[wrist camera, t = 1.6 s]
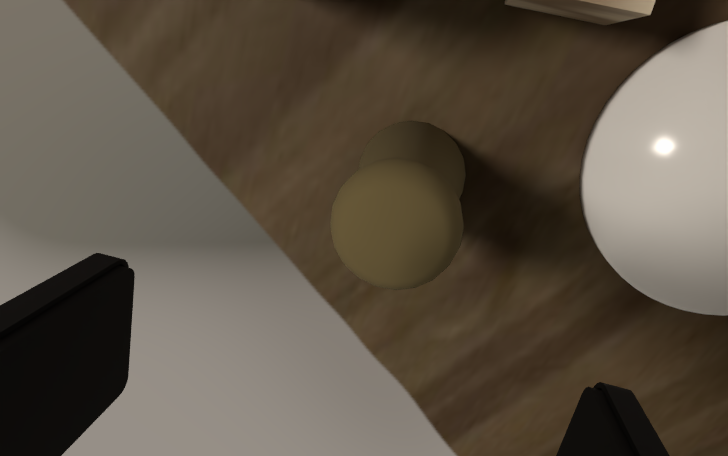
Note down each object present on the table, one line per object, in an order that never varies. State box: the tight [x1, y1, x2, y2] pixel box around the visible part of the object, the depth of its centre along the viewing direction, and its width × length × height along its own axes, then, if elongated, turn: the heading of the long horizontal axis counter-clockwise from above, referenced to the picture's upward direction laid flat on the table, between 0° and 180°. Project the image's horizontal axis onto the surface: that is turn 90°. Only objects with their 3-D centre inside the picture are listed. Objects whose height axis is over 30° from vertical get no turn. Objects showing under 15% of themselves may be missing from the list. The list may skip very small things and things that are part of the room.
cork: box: [330, 121, 466, 290], centre depth 24 cm, size 6×6×11 cm
